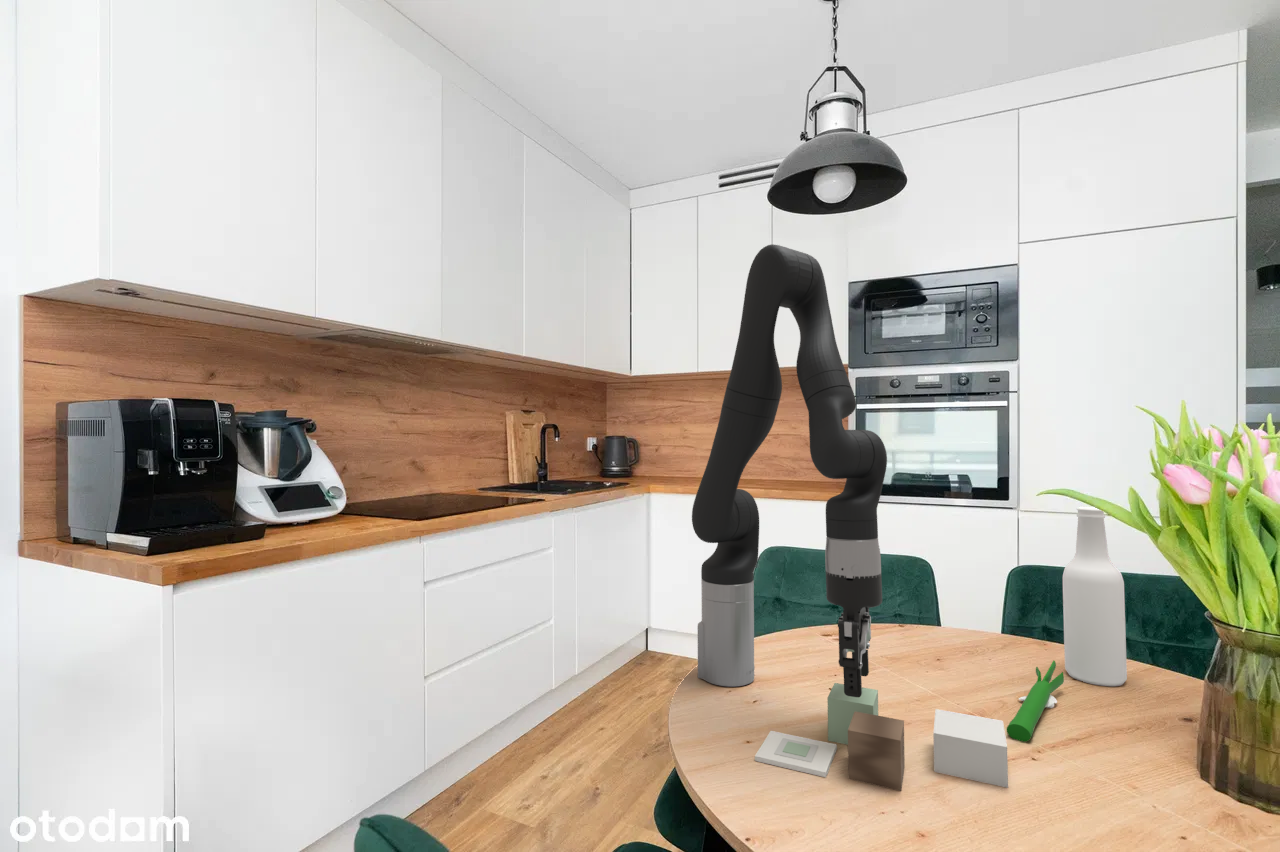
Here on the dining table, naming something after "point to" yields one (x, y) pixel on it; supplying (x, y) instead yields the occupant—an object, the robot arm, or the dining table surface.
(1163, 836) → the dining table surface
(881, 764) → the walnut block
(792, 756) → the card
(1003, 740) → the grey base block
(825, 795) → the dining table surface
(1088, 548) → the alcohol
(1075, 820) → the dining table surface
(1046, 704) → the green onion
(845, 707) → the sage block
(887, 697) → the dining table surface
